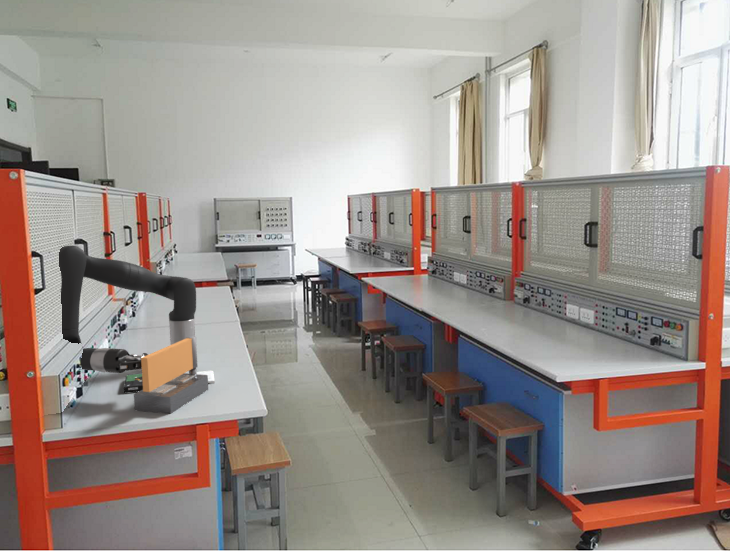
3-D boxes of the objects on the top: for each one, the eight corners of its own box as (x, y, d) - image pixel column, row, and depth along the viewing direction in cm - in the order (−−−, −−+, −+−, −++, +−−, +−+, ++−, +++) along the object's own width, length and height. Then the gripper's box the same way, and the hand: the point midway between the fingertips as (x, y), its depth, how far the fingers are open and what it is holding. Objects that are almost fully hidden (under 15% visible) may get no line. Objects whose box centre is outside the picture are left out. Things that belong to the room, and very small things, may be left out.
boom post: (192, 386, 193) (191, 367, 193) (198, 386, 193) (197, 367, 192) (188, 388, 191) (187, 369, 190) (194, 388, 191) (193, 369, 190)
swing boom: (190, 365, 193) (189, 336, 192) (199, 366, 192) (197, 336, 191) (141, 391, 167) (139, 357, 166) (151, 392, 166) (149, 358, 165)
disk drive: (157, 391, 190) (157, 378, 204) (157, 383, 190) (156, 370, 204) (123, 395, 187) (125, 381, 201) (123, 387, 186) (125, 373, 200)
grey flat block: (175, 387, 192) (174, 371, 192) (208, 389, 190) (207, 373, 189) (134, 410, 171) (133, 392, 171) (170, 413, 168) (169, 395, 168)
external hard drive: (213, 374, 208) (214, 384, 197) (189, 376, 206) (189, 387, 194) (213, 370, 208) (214, 380, 196) (189, 372, 206) (189, 382, 194)
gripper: (94, 354, 175) (145, 357, 171) (122, 343, 188) (170, 346, 184) (96, 378, 176) (146, 381, 172) (124, 366, 189) (171, 369, 184)
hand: (158, 363), depth 178 cm, fingers closed
